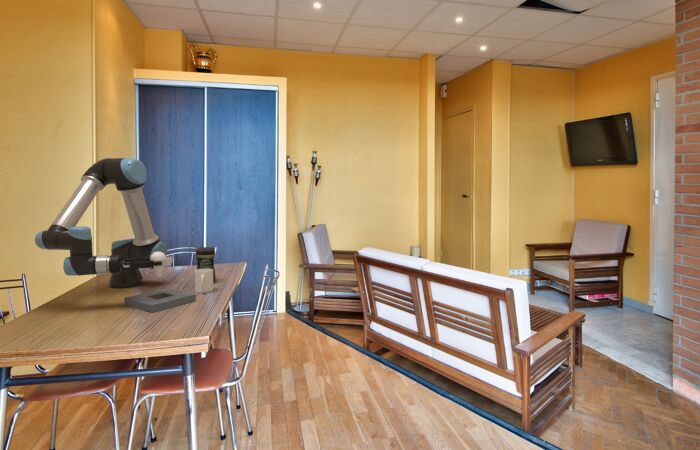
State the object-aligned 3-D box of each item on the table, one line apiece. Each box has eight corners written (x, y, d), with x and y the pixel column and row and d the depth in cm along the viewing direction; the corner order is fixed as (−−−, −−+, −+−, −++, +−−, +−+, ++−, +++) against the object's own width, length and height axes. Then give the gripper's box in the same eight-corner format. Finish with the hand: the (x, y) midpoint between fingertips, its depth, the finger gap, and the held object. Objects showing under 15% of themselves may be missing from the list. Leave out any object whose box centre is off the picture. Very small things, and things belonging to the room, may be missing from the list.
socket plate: (124, 304, 170) (124, 297, 170) (168, 294, 187) (167, 288, 187) (152, 312, 160) (151, 305, 159) (195, 301, 176) (195, 294, 176)
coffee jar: (195, 284, 206) (194, 248, 204) (197, 281, 214) (196, 246, 212) (215, 284, 208) (214, 248, 206) (216, 280, 216) (215, 246, 214)
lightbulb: (154, 275, 175) (153, 250, 174) (168, 275, 175) (168, 250, 174) (148, 278, 169) (147, 252, 168) (163, 278, 169) (162, 252, 168)
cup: (214, 288, 199) (213, 268, 198) (212, 294, 187) (211, 273, 186) (196, 289, 197) (195, 268, 196) (192, 295, 185) (192, 274, 184)
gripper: (115, 269, 175) (173, 265, 182) (104, 278, 157) (170, 274, 165) (114, 251, 174) (173, 249, 182) (103, 259, 156) (169, 256, 164)
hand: (171, 261), depth 173 cm, fingers closed on lightbulb, 6 cm apart
